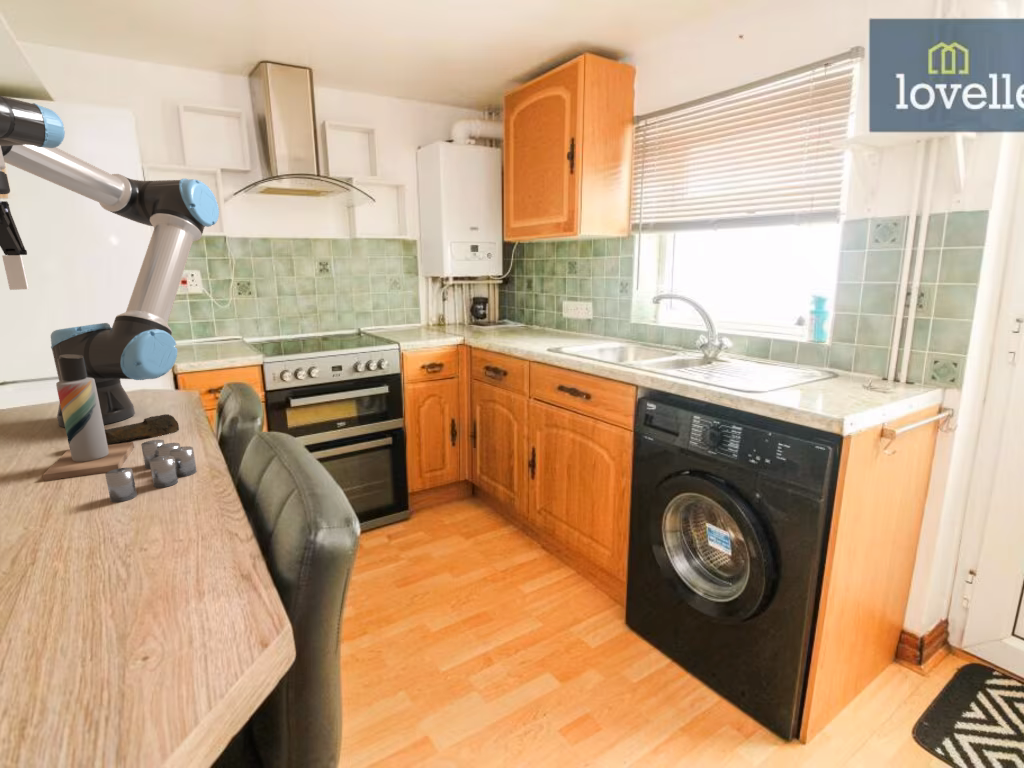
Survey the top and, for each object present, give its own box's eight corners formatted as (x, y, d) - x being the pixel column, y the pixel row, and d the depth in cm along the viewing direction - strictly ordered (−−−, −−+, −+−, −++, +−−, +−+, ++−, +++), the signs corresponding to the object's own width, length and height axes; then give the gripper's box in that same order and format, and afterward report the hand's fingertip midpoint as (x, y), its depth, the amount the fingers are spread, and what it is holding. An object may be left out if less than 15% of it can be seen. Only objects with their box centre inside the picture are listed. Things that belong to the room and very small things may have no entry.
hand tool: (74, 455, 110) (69, 433, 108) (73, 450, 113) (69, 428, 111) (181, 435, 122) (178, 415, 120) (178, 431, 124) (175, 411, 123)
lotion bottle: (85, 452, 107) (64, 352, 102) (115, 451, 107) (96, 351, 103) (64, 463, 101) (41, 358, 97) (97, 461, 102) (76, 357, 97)
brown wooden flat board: (68, 455, 109) (67, 450, 108) (134, 447, 113) (133, 441, 113) (44, 481, 96) (42, 474, 96) (118, 470, 101) (117, 464, 100)
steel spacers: (131, 465, 103) (127, 443, 102) (201, 456, 107) (197, 434, 106) (107, 503, 87) (102, 477, 86) (190, 490, 91) (186, 465, 90)
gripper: (-19, 177, 105) (6, 288, 110) (-93, 155, 83) (-58, 296, 88) (30, 179, 108) (53, 287, 113) (-29, 158, 86) (2, 294, 91)
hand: (4, 291), depth 100 cm, fingers open, 13 cm apart
